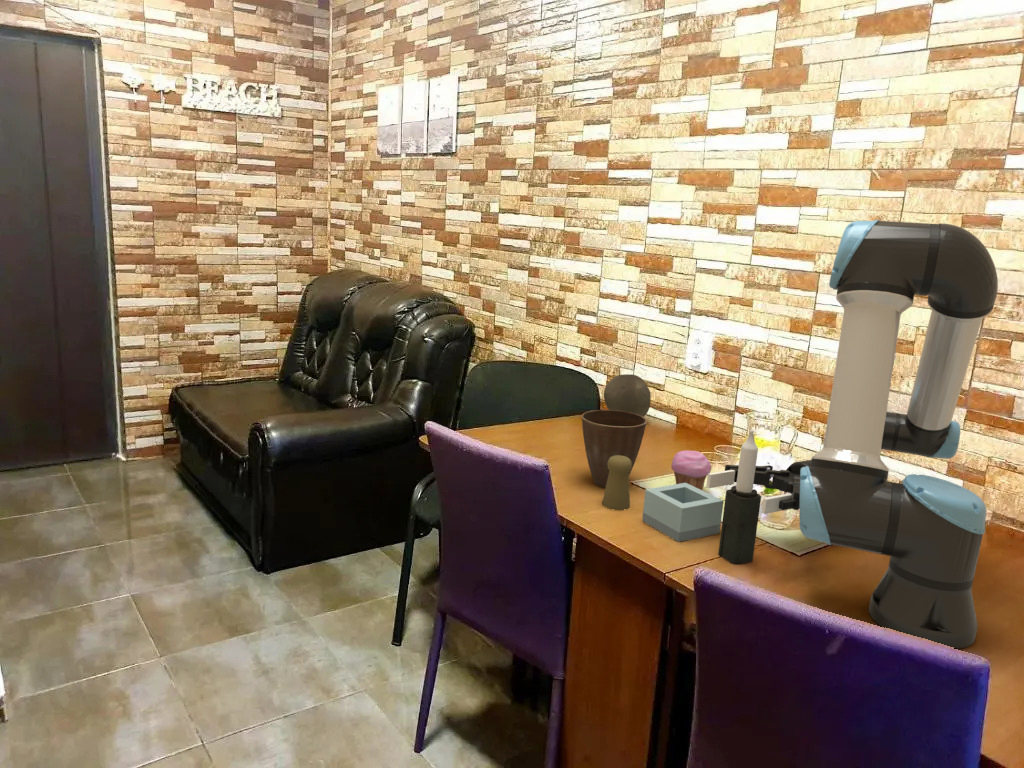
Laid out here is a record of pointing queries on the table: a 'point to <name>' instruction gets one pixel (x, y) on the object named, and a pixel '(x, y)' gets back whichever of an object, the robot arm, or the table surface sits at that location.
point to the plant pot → (610, 439)
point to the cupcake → (691, 468)
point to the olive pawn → (617, 483)
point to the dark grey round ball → (627, 394)
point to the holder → (682, 511)
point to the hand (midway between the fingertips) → (734, 493)
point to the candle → (741, 509)
